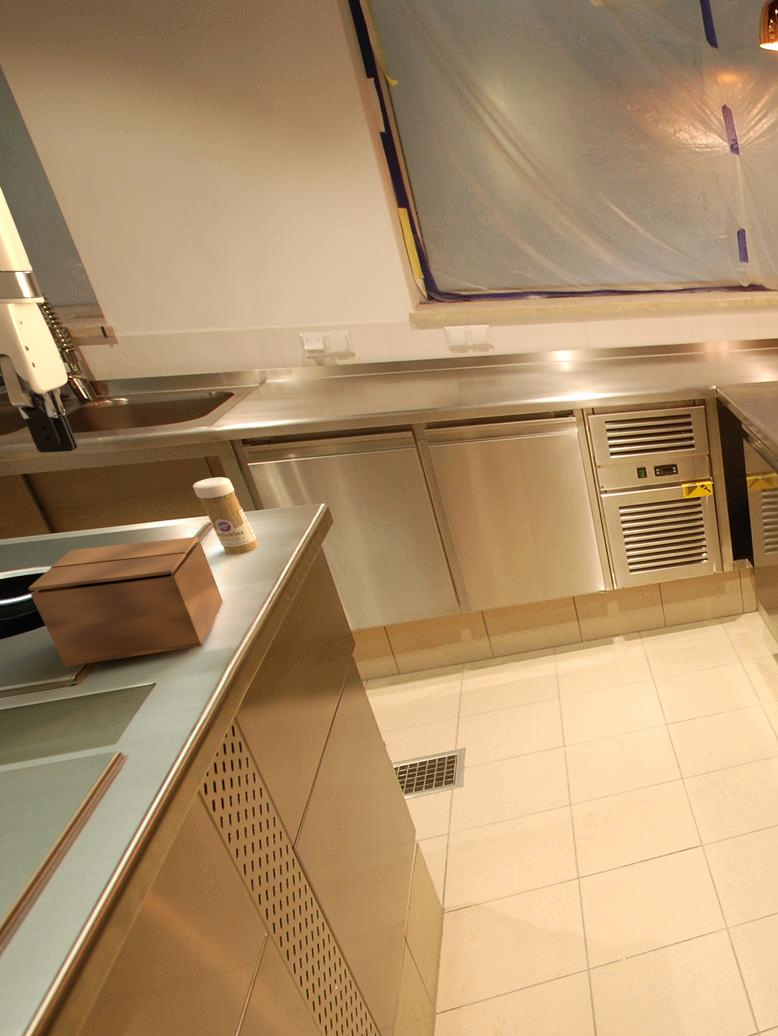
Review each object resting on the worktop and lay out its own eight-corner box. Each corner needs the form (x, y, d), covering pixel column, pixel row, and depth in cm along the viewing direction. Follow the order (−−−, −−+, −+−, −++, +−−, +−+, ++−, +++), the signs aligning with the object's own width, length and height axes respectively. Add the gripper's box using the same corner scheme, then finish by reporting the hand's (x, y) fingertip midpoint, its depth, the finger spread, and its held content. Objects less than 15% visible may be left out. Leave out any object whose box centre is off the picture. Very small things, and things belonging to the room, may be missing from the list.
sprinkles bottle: (229, 569, 133) (189, 488, 126) (232, 558, 136) (193, 479, 129) (264, 562, 135) (227, 483, 128) (267, 552, 138) (230, 474, 131)
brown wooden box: (65, 666, 102) (27, 588, 97) (103, 621, 113) (70, 549, 109) (202, 645, 108) (171, 570, 103) (224, 605, 119) (198, 536, 115)
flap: (52, 569, 103) (50, 566, 103) (72, 553, 109) (71, 550, 109) (186, 554, 109) (185, 551, 109) (198, 539, 115) (197, 536, 115)
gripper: (-24, 285, 99) (40, 441, 107) (-89, 290, 87) (-11, 465, 95) (61, 286, 102) (118, 437, 110) (10, 292, 91) (78, 461, 98)
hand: (58, 450), depth 102 cm, fingers closed
